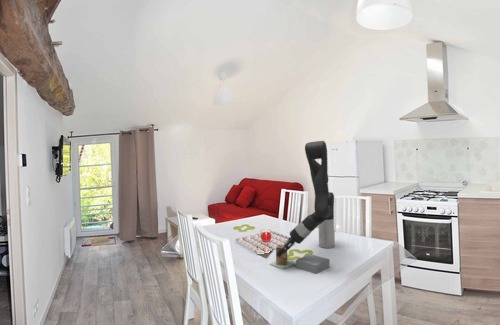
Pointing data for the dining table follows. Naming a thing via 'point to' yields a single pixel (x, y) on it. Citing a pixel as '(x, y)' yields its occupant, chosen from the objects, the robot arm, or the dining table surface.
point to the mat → (282, 265)
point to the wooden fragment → (265, 254)
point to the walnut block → (283, 258)
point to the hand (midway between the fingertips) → (279, 252)
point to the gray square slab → (312, 263)
